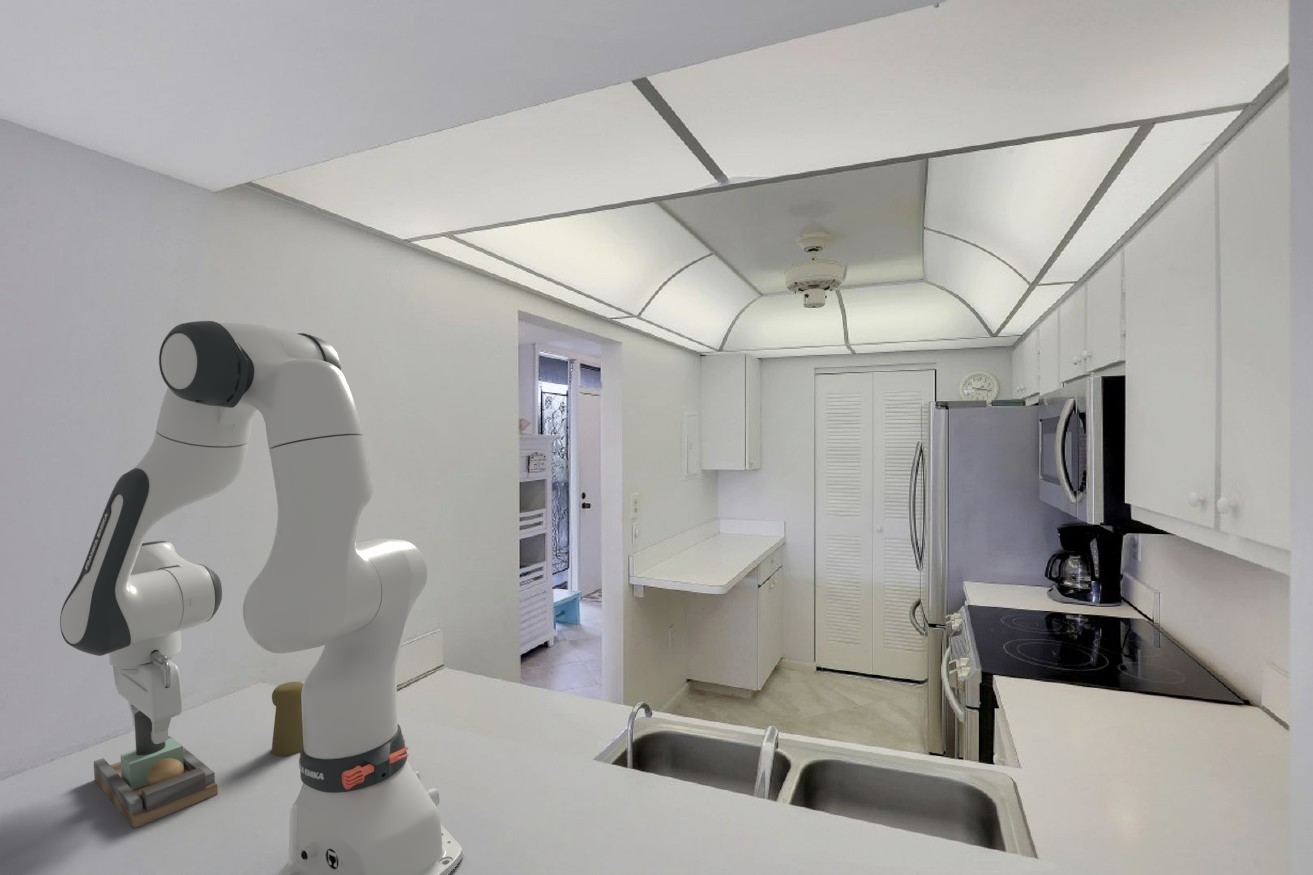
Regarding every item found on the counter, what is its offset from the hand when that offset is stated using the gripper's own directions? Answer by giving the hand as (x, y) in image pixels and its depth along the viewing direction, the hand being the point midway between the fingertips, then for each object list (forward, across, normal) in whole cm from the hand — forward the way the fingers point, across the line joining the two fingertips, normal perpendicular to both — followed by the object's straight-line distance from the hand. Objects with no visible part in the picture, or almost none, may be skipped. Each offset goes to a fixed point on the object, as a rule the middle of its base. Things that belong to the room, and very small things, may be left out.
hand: (150, 733), depth 99 cm
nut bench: (+8, -1, 0) cm, 8 cm away
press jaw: (+6, -1, 0) cm, 7 cm away
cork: (+8, -6, -18) cm, 21 cm away
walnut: (+4, -7, 0) cm, 8 cm away
